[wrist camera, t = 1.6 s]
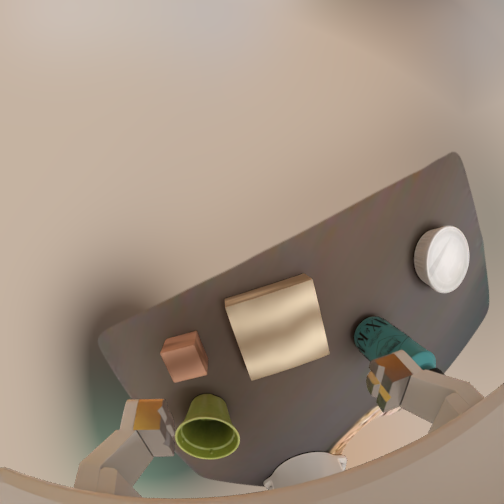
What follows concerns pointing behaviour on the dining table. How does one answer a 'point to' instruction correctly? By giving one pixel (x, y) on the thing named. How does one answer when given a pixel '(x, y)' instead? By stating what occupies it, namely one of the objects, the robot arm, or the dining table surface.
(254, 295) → the birch base
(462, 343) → the dining table surface
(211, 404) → the plant pot
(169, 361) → the terracotta cube
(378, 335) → the beverage bottle
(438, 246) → the ramekin
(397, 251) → the dining table surface
